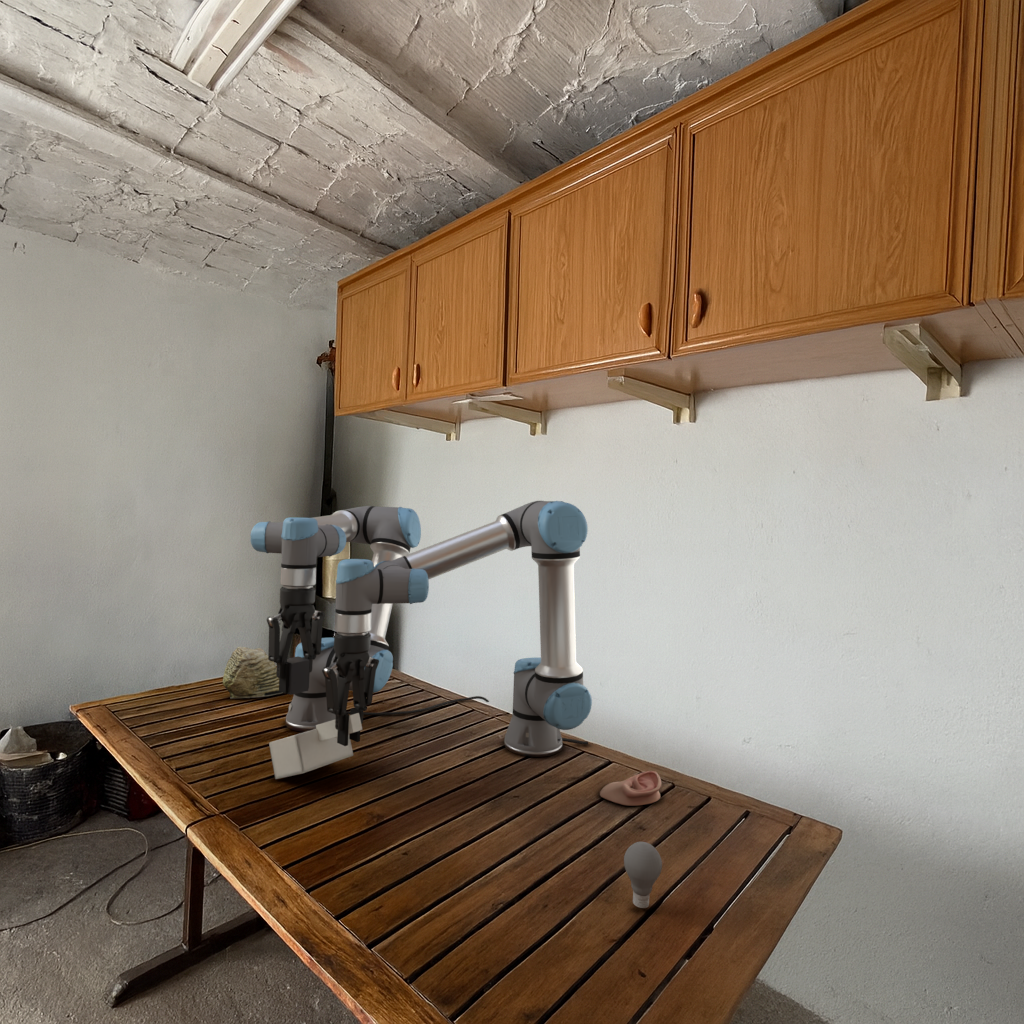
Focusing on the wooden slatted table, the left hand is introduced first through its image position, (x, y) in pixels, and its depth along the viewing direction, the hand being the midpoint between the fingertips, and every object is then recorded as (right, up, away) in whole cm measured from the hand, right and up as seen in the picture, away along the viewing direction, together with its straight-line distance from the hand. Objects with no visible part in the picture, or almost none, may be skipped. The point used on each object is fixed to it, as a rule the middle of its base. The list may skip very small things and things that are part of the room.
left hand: (294, 689), depth 143 cm
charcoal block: (0, 0, 0) cm, 0 cm away
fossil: (-31, -17, +56) cm, 66 cm away
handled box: (+9, -15, -4) cm, 18 cm away
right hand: (+14, -9, -8) cm, 19 cm away
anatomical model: (+75, -23, -2) cm, 79 cm away
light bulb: (+70, -24, -41) cm, 84 cm away
